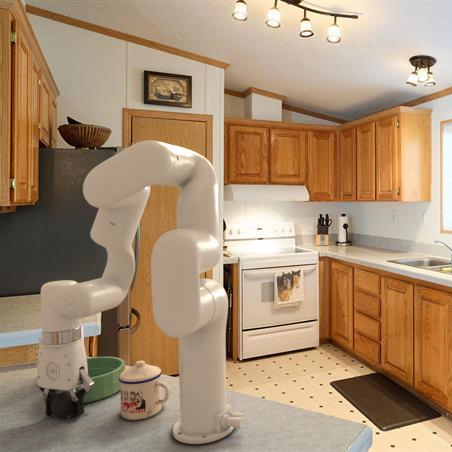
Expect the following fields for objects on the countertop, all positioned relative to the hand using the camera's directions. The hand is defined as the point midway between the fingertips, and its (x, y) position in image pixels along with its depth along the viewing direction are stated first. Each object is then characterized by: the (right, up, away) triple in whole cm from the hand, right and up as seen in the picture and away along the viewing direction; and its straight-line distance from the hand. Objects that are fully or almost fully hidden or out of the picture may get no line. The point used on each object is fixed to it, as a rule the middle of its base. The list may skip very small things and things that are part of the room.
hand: (65, 413), depth 97 cm
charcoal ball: (0, -1, 0) cm, 1 cm away
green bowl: (-2, 0, +14) cm, 14 cm away
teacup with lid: (+18, 0, +1) cm, 18 cm away
